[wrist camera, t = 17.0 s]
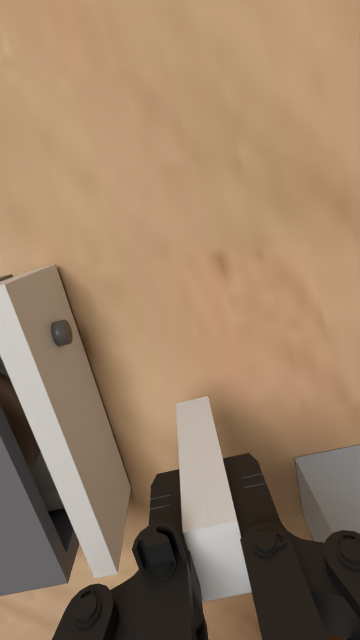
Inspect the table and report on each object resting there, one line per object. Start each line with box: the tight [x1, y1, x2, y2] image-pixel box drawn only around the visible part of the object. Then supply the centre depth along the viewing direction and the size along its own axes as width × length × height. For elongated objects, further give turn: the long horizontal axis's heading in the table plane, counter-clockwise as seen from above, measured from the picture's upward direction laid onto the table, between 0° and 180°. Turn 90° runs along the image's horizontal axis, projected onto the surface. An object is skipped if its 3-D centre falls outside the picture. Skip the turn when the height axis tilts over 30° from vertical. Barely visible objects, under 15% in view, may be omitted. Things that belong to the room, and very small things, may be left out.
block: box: [295, 445, 360, 542], centre depth 19 cm, size 5×5×6 cm
